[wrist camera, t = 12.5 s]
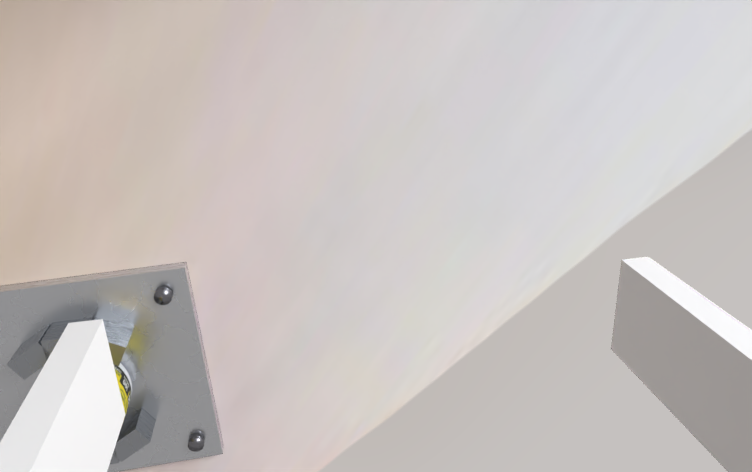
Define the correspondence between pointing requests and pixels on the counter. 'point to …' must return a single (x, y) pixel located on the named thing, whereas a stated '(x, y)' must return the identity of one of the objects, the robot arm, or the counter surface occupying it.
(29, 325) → the collar
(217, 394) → the counter surface
